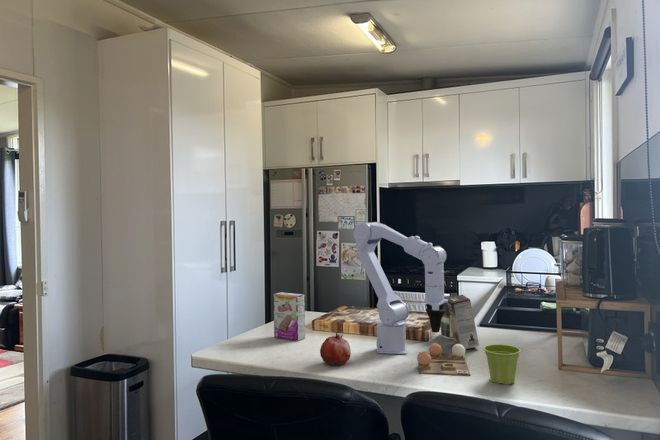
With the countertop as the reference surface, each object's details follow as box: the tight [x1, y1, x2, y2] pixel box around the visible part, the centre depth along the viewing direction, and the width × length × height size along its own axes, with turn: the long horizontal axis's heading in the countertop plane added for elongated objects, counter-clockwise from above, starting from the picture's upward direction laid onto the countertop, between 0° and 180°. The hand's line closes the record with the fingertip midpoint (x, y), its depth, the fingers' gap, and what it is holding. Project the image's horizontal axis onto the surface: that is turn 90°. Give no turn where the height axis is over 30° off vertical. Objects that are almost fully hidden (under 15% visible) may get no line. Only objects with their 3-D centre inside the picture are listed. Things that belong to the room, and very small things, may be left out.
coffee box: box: [446, 294, 480, 350], centre depth 165 cm, size 9×6×16 cm
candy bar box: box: [273, 291, 306, 342], centre depth 180 cm, size 11×5×16 cm, turn 58°
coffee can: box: [440, 295, 455, 341], centre depth 179 cm, size 10×10×14 cm
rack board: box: [417, 351, 471, 377], centre depth 146 cm, size 14×20×1 cm
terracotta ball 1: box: [417, 351, 431, 366], centre depth 143 cm, size 4×4×4 cm
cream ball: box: [451, 343, 466, 357], centre depth 150 cm, size 4×4×4 cm
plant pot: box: [483, 343, 522, 385], centre depth 131 cm, size 9×9×9 cm
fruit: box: [319, 331, 352, 367], centre depth 148 cm, size 9×10×10 cm
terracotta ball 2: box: [428, 342, 443, 356], centre depth 152 cm, size 4×4×4 cm
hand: (435, 329), depth 152 cm, fingers open, 7 cm apart
